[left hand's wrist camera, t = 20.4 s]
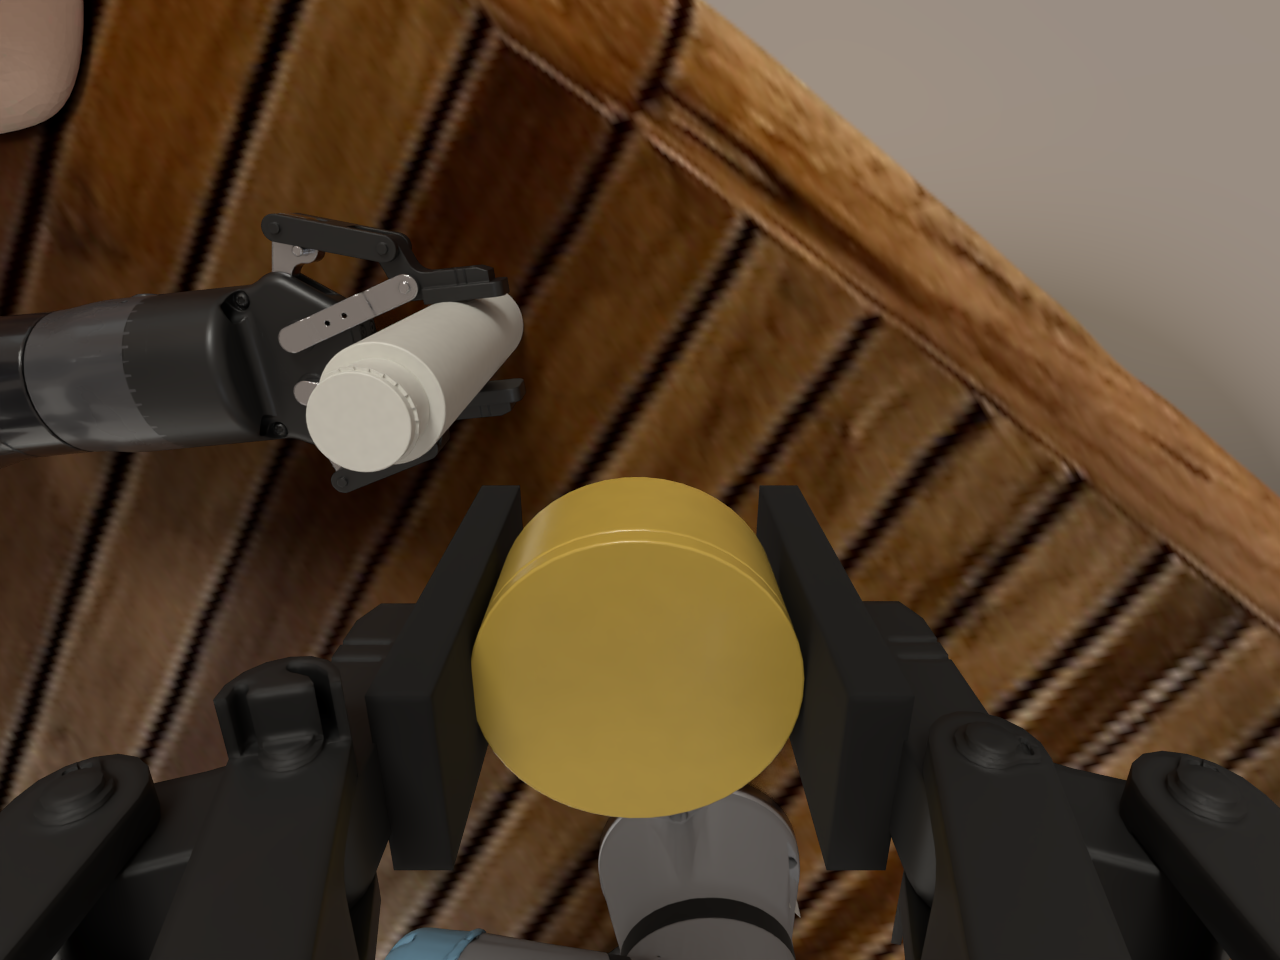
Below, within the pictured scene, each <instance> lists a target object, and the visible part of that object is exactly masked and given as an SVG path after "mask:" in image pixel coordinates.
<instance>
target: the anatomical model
mask: <svg viewBox="0 0 1280 960" xmlns="http://www.w3.org/2000/svg"><path fill="white" fill-rule="evenodd" d="M83 13H84V3H83V0H0V134H1V133H6V132H11V131H16V130H20V129H24V128H27V127H30V126H34V125H37V124H39V123H41V122H43V121H45V120H47V119H49V118H51V117H52V116H53V115H55V114H56V113H57V112H58V111H59V110H60V109H61V108H62V107H63V106H64V104H65V103H66V101H67V99H68V98H69V96H70V94H71V92H72V89H73V87H74V84H75V81H76V77H77V73H78V70H79V65H80V58H81V52H82V41H83Z"/></svg>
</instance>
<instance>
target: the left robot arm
mask: <svg viewBox="0 0 1280 960" xmlns="http://www.w3.org/2000/svg"><path fill="white" fill-rule="evenodd" d="M522 530H523V526H522V511H521V496H520V486H482V487H481V489H480V490H479V492H478V494H477V496H476V497H475V499H474V501H473V503H472V505H471V506H470V508H469V510H468V512H467V514H466V515H465V517H464V519H463V521H462V523H461V524H460V526H459V528H458V530H457V531H456V533H455V535H454V537H453V539H452V540H451V542H450V544H449V546H448V548H447V549H446V551H445V553H444V555H443V556H442V558H441V560H440V562H439V564H438V565H437V567H436V569H435V571H434V573H433V574H432V576H431V578H430V580H429V581H428V583H427V585H426V587H425V589H424V590H423V592H422V594H421V596H420V598H419V599H418V601H417V603H416V604H380V605H378V606H377V607H376V608H374V609H373V610H371V611H370V612H368V613H367V614H366V615H364V616H363V617H361V618H360V619H359V620H357V621H356V623H355V624H354V626H353V627H352V629H351V630H350V631H349V633H348V634H347V636H346V637H345V639H344V640H343V645H340V646H339V648H338V649H337V651H336V652H335V654H334V655H333V657H332V661H331V662H330V661H329V660H325V659H321V658H317V657H313V656H303V657H287V658H283V659H279V660H274V661H270V662H266V663H264V664H261V665H259V666H257V667H254V668H252V669H250V670H247V671H245V672H243V673H242V674H240V675H239V676H237V677H236V678H235V679H233V680H232V681H230V682H229V683H227V684H226V685H225V686H224V687H223V688H222V690H221V691H220V692H219V693H218V695H217V696H216V697H215V698H214V700H213V701H214V705H215V709H216V712H217V716H218V720H219V724H220V727H221V731H222V735H223V739H224V743H225V746H226V750H227V754H228V758H229V760H228V763H227V765H226V766H224V767H221V768H217V769H214V770H210V771H207V772H202V773H198V774H193V775H189V776H185V777H180V778H176V779H171V780H167V781H162V782H158V783H153V780H152V777H151V774H150V770H149V767H148V766H147V765H146V764H145V763H144V762H143V761H142V760H140V759H139V758H138V757H134V756H128V755H122V754H114V755H106V756H99V757H92V758H89V759H86V760H83V761H80V762H76V763H74V764H71V765H68V766H65V767H63V768H61V769H59V770H58V771H56V772H54V773H52V774H50V775H48V776H46V777H44V778H42V779H40V780H38V781H37V782H36V783H34V784H33V785H32V786H30V787H29V788H28V789H26V790H25V791H24V792H23V793H21V794H20V795H19V796H17V797H16V798H15V799H14V800H13V801H12V802H11V803H9V804H8V805H7V806H6V807H5V808H4V809H3V810H2V811H1V812H0V960H375V954H376V944H377V934H378V924H379V914H380V904H381V897H380V890H379V883H378V878H377V873H376V870H377V868H378V865H379V863H380V860H381V857H382V855H383V852H384V850H385V847H386V845H387V842H388V840H389V843H390V849H391V855H392V861H393V867H394V870H453V868H454V864H455V861H456V857H457V853H458V850H459V846H460V843H461V839H462V836H463V832H464V829H465V825H466V821H467V818H468V814H469V811H470V807H471V804H472V800H473V796H474V793H475V789H476V786H477V782H478V779H479V775H480V771H481V768H482V764H483V761H484V757H485V754H486V750H487V746H488V742H487V740H486V739H485V737H484V735H483V733H482V731H481V729H480V726H479V724H478V722H477V717H476V708H475V698H474V689H473V679H472V668H471V655H472V650H473V646H474V643H475V640H476V638H477V635H478V632H479V629H480V627H481V624H482V621H483V619H484V616H485V613H486V611H487V608H488V605H489V603H490V600H491V597H492V595H493V592H494V590H495V587H496V584H497V582H498V579H499V576H500V574H501V571H502V568H503V566H504V563H505V560H506V558H507V555H508V553H509V551H510V549H511V547H512V545H513V544H514V542H515V540H516V538H517V537H518V536H519V534H520V533H521V532H522ZM756 536H757V538H758V540H759V541H760V543H761V545H762V546H763V548H764V550H765V552H766V555H767V557H768V560H769V562H770V564H771V567H772V570H773V573H774V575H775V578H776V581H777V584H778V586H779V589H780V592H781V595H782V597H783V600H784V603H785V606H786V608H787V611H788V614H789V617H790V619H791V622H792V625H793V628H794V630H795V633H796V636H797V639H798V641H799V645H800V649H801V653H802V657H803V665H804V677H805V679H804V692H803V699H802V703H801V708H800V712H799V715H798V718H797V720H796V723H795V725H794V728H793V730H792V733H791V734H790V736H789V737H790V741H791V744H792V748H793V752H794V755H795V759H796V762H797V766H798V769H799V773H800V777H801V780H802V784H803V787H804V791H805V794H806V798H807V802H808V805H809V809H810V812H811V816H812V819H813V823H814V827H815V830H816V834H817V837H818V841H819V844H820V848H821V852H822V855H823V859H824V862H825V866H826V869H827V870H886V864H887V859H888V853H889V847H890V841H891V837H892V840H893V842H894V845H895V847H896V850H897V853H898V855H899V858H900V860H901V863H902V865H903V868H904V873H903V878H902V883H901V889H900V894H899V900H898V905H897V911H896V916H895V922H894V927H893V934H892V941H891V943H894V944H899V945H901V940H902V935H903V942H904V952H905V960H1229V958H1231V959H1232V960H1280V808H1279V807H1278V806H1277V805H1276V804H1275V803H1274V802H1273V801H1272V800H1270V799H1269V798H1268V797H1267V796H1266V795H1265V794H1264V793H1262V792H1261V791H1260V790H1258V789H1257V788H1256V787H1255V786H1253V785H1252V784H1251V783H1249V782H1248V781H1247V780H1245V779H1244V778H1243V777H1241V776H1239V775H1237V774H1235V773H1233V772H1231V771H1229V770H1227V769H1225V768H1223V767H1221V766H1220V765H1218V764H1216V763H1213V762H1210V761H1207V760H1205V759H1201V758H1198V757H1195V756H1192V755H1188V754H1183V753H1175V752H1167V751H1158V752H1152V753H1146V754H1142V755H1141V756H1140V757H1139V758H1138V759H1136V760H1135V761H1134V762H1133V763H1132V765H1131V769H1130V772H1129V775H1128V778H1127V780H1122V779H1118V778H1113V777H1109V776H1104V775H1100V774H1095V773H1091V772H1086V771H1082V770H1077V769H1073V768H1069V767H1066V766H1063V765H1059V764H1056V763H1053V761H1052V759H1051V757H1050V756H1049V754H1048V753H1047V751H1046V750H1045V748H1044V747H1043V745H1042V744H1041V743H1040V742H1039V741H1038V740H1037V739H1035V738H1034V737H1033V736H1032V735H1030V734H1029V733H1028V732H1027V731H1025V730H1024V729H1023V728H1021V727H1019V726H1017V725H1015V724H1013V723H1011V722H1009V721H1007V720H1005V719H1002V718H1000V717H996V716H992V715H989V714H988V713H987V711H986V710H985V708H984V707H983V705H982V704H981V702H980V701H979V700H978V698H977V697H976V695H975V694H974V692H973V691H972V689H971V688H970V686H969V685H968V683H967V682H966V680H965V679H964V678H963V676H962V675H961V673H960V672H959V670H958V669H957V667H956V666H955V664H954V663H953V661H952V660H951V659H948V654H947V653H946V651H945V650H944V648H943V647H942V645H941V644H940V643H937V638H936V637H935V635H934V634H933V632H932V631H931V629H930V628H929V626H928V625H927V623H926V622H925V620H924V619H923V618H922V617H920V616H919V615H917V614H916V613H915V612H913V611H912V610H910V609H909V608H907V607H906V606H905V605H903V604H902V603H900V602H899V601H862V600H861V598H860V597H859V595H858V593H857V591H856V590H855V588H854V586H853V584H852V582H851V581H850V579H849V577H848V575H847V573H846V572H845V570H844V568H843V566H842V564H841V563H840V561H839V559H838V557H837V556H836V554H835V552H834V550H833V548H832V547H831V545H830V543H829V541H828V539H827V538H826V536H825V534H824V532H823V530H822V529H821V527H820V525H819V523H818V522H817V520H816V518H815V516H814V514H813V513H812V511H811V509H810V507H809V505H808V504H807V502H806V500H805V498H804V497H803V495H802V493H801V491H800V489H799V488H798V486H760V489H759V504H758V519H757V535H756ZM799 874H800V865H799V852H798V847H797V843H796V839H795V835H794V831H793V828H792V825H791V823H790V821H789V819H788V817H787V816H786V814H785V813H784V811H783V810H782V809H781V808H780V806H779V805H777V804H776V803H775V802H774V801H773V800H772V799H771V798H770V797H768V796H767V795H766V794H764V793H763V792H761V791H759V790H757V789H756V788H754V787H752V786H749V785H747V784H746V785H745V786H744V787H742V788H740V789H739V790H737V791H735V792H734V793H732V794H730V795H729V796H727V797H725V798H723V799H721V800H718V801H716V802H714V803H712V804H710V805H707V806H704V807H701V808H698V809H695V810H692V811H689V812H684V813H680V814H675V815H670V816H662V817H654V818H622V817H610V818H609V820H608V821H607V823H606V825H605V827H604V830H603V832H602V835H601V840H600V848H599V875H600V883H601V888H602V891H603V894H604V896H605V899H606V901H607V905H608V909H609V913H610V916H611V920H612V924H613V927H614V931H615V934H616V938H617V941H618V944H619V946H618V947H617V948H615V949H614V950H612V951H611V952H610V953H605V952H599V951H592V950H585V949H579V948H572V947H566V946H559V945H553V944H546V943H541V942H535V941H529V940H524V939H518V938H512V937H506V936H501V935H495V934H489V933H486V931H485V930H484V929H475V930H472V931H460V930H448V929H439V928H420V929H417V930H414V931H412V932H410V933H408V934H407V935H405V936H404V937H403V938H402V939H400V940H399V941H398V942H397V943H396V944H395V946H394V947H393V948H392V949H391V951H390V952H389V954H388V955H387V956H386V958H385V960H796V959H795V954H794V949H793V944H792V933H793V924H794V916H795V913H796V914H797V915H798V916H799V917H800V913H799V908H798V904H797V901H796V899H797V892H798V883H799ZM800 918H801V917H800Z"/></svg>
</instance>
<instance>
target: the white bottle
mask: <svg viewBox="0 0 1280 960" xmlns="http://www.w3.org/2000/svg"><path fill="white" fill-rule="evenodd" d="M522 333H523V319H522V315H521V312H520V310H519V308H518V306H517V304H516V303H515V301H514V300H513V299H512V298H511V297H510V296H509V295H508V294H506V295H504V296H499V297H492V298H482V299H472V300H463V301H453V302H442V303H435V304H433V305H431V306H429V307H427V308H425V309H423V310H421V311H419V312H417V313H415V314H413V315H411V316H409V317H407V318H405V319H403V320H401V321H399V322H397V323H395V324H393V325H391V326H389V327H387V328H385V329H383V330H381V331H379V332H377V333H375V334H373V335H371V336H369V337H367V338H365V339H363V340H361V341H359V342H357V343H355V344H353V345H351V346H349V347H347V348H345V349H343V350H342V351H340V352H339V353H337V354H336V355H335V356H334V357H333V358H332V359H331V360H330V361H329V363H328V364H327V365H326V367H325V369H324V371H323V373H322V375H321V378H320V382H319V384H318V385H317V386H316V388H315V389H314V390H313V392H312V393H311V395H310V397H309V400H308V403H307V408H306V422H307V427H308V430H309V433H310V436H311V438H312V440H313V442H314V443H315V445H316V446H317V447H318V449H319V450H320V451H321V452H322V453H323V454H324V455H325V456H326V457H327V458H328V459H330V460H331V461H332V462H334V463H336V464H337V465H339V466H341V467H344V468H346V469H349V470H353V471H358V472H374V471H380V470H383V469H386V468H388V467H390V466H392V465H393V464H401V463H406V462H409V461H413V460H415V459H417V458H419V457H421V456H422V455H424V454H425V453H426V452H428V451H429V450H430V449H431V448H432V447H433V446H434V444H435V443H436V442H437V441H438V440H439V439H440V437H441V436H442V435H443V434H444V433H445V431H446V430H447V429H448V428H449V427H450V426H451V424H452V423H453V422H454V421H455V420H456V418H457V417H458V416H459V415H460V414H461V413H462V411H463V410H464V409H465V408H466V407H467V405H468V404H469V403H470V402H471V401H472V400H473V398H474V397H475V396H476V395H477V394H478V392H479V391H480V390H481V389H482V388H483V387H484V385H485V384H486V383H487V382H488V381H489V379H490V378H491V377H492V376H493V375H494V374H495V372H496V371H497V370H498V369H499V368H500V366H501V365H502V364H503V363H504V362H505V361H506V359H507V358H508V357H509V356H510V355H511V353H512V352H513V351H514V350H515V349H516V347H517V346H518V344H519V342H520V340H521V337H522Z"/></svg>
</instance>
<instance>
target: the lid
mask: <svg viewBox="0 0 1280 960" xmlns="http://www.w3.org/2000/svg"><path fill="white" fill-rule="evenodd" d="M471 668H472V679H473V689H474V698H475V708H476V717H477V722H478V724H479V726H480V729H481V731H482V733H483V735H484V737H485V739H486V740H487V742H488V743H489V745H490V747H491V748H492V750H493V751H494V753H495V754H496V755H497V756H498V757H499V758H500V760H501V761H502V762H503V763H504V764H505V766H506V767H507V768H509V769H510V770H511V771H512V772H513V773H514V774H515V775H516V776H517V777H518V778H520V779H521V780H522V781H524V782H525V783H526V784H528V785H529V786H531V787H532V788H533V789H535V790H536V791H538V792H540V793H542V794H544V795H545V796H547V797H549V798H551V799H553V800H555V801H557V802H560V803H562V804H565V805H567V806H570V807H572V808H576V809H579V810H582V811H586V812H589V813H594V814H599V815H605V816H610V817H622V818H654V817H662V816H670V815H675V814H680V813H684V812H689V811H692V810H695V809H698V808H701V807H704V806H707V805H710V804H712V803H714V802H716V801H718V800H721V799H723V798H725V797H727V796H729V795H730V794H732V793H734V792H735V791H737V790H739V789H740V788H742V787H744V786H745V785H746V784H747V783H749V782H750V781H751V780H753V779H754V778H755V777H757V776H758V775H759V774H760V773H761V772H762V771H763V770H764V769H765V768H766V767H767V766H768V765H769V764H770V763H771V762H772V761H773V760H774V758H775V757H776V756H777V754H778V753H779V752H780V751H781V749H782V748H783V746H784V745H785V743H786V741H787V739H788V738H789V736H790V734H791V733H792V730H793V728H794V725H795V723H796V720H797V718H798V715H799V712H800V708H801V703H802V699H803V692H804V679H805V677H804V665H803V657H802V653H801V649H800V645H799V641H798V639H797V636H796V633H795V630H794V628H793V625H792V622H791V619H790V617H789V614H788V611H787V608H786V606H785V603H784V600H783V597H782V595H781V592H780V589H779V586H778V584H777V581H776V578H775V575H774V573H773V570H772V567H771V564H770V562H769V560H768V557H767V555H766V552H765V550H764V548H763V546H762V545H761V543H760V541H759V540H758V538H757V536H756V535H755V534H754V532H753V531H752V530H751V529H750V527H749V526H748V525H747V524H746V523H745V521H744V520H743V519H741V518H740V517H739V516H738V515H737V514H736V513H735V512H734V511H733V510H732V509H730V508H729V507H727V506H726V505H725V504H723V503H722V502H720V501H719V500H717V499H716V498H714V497H712V496H710V495H708V494H706V493H704V492H702V491H701V490H698V489H695V488H693V487H690V486H687V485H684V484H682V483H677V482H673V481H669V480H664V479H656V478H646V477H630V478H618V479H611V480H605V481H601V482H597V483H594V484H590V485H586V486H584V487H581V488H579V489H577V490H574V491H572V492H569V493H568V494H566V495H564V496H562V497H561V498H559V499H557V500H555V501H554V502H552V503H551V504H549V505H548V506H547V507H546V508H544V509H543V510H542V511H540V512H539V513H538V514H537V515H536V516H535V517H534V518H533V519H532V520H531V521H530V522H529V523H528V524H527V525H526V526H525V528H524V529H523V530H522V532H521V533H520V534H519V536H518V537H517V538H516V540H515V542H514V544H513V545H512V547H511V549H510V551H509V553H508V555H507V558H506V560H505V563H504V566H503V568H502V571H501V574H500V576H499V579H498V582H497V584H496V587H495V590H494V592H493V595H492V597H491V600H490V603H489V605H488V608H487V611H486V613H485V616H484V619H483V621H482V624H481V627H480V629H479V632H478V635H477V638H476V640H475V643H474V646H473V650H472V655H471Z"/></svg>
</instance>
